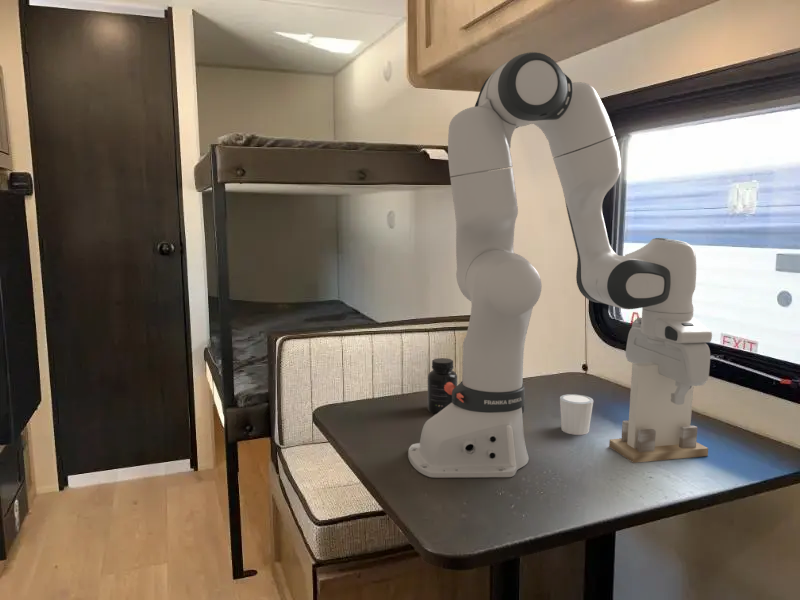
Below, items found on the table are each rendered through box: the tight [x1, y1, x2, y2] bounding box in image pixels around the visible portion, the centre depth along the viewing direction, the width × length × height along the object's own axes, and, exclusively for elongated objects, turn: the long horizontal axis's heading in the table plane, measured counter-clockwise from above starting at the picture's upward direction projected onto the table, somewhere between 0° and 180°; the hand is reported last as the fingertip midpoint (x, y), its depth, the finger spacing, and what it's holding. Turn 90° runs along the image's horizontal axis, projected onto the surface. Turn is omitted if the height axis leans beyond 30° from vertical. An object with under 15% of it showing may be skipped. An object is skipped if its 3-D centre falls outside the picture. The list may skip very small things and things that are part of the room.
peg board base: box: [608, 419, 709, 464], centre depth 119 cm, size 16×8×6 cm, turn 103°
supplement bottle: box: [427, 357, 458, 415], centre depth 142 cm, size 7×7×12 cm
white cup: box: [559, 393, 594, 436], centre depth 131 cm, size 7×7×7 cm
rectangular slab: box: [627, 362, 694, 448], centre depth 118 cm, size 12×3×16 cm, turn 103°
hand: (661, 395), depth 118 cm, fingers open, 8 cm apart
